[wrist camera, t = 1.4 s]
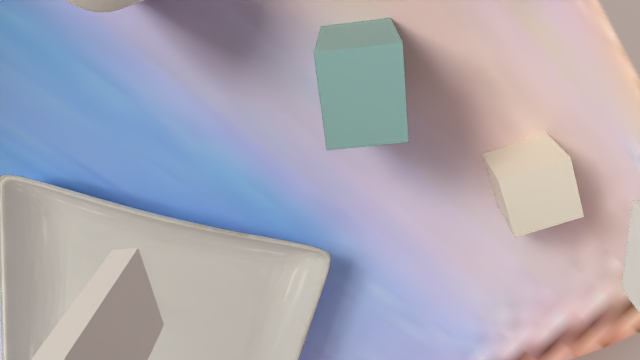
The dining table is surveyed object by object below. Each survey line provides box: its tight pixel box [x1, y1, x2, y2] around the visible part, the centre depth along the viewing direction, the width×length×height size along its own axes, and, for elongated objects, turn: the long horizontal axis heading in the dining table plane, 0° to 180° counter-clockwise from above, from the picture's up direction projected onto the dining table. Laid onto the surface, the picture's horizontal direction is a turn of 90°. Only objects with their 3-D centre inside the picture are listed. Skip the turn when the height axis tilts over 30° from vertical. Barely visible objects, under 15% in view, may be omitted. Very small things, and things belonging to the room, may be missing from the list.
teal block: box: [314, 18, 408, 150], centre depth 35 cm, size 5×6×9 cm
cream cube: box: [482, 133, 584, 238], centre depth 40 cm, size 5×5×5 cm
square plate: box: [0, 175, 331, 360], centre depth 49 cm, size 27×27×4 cm
